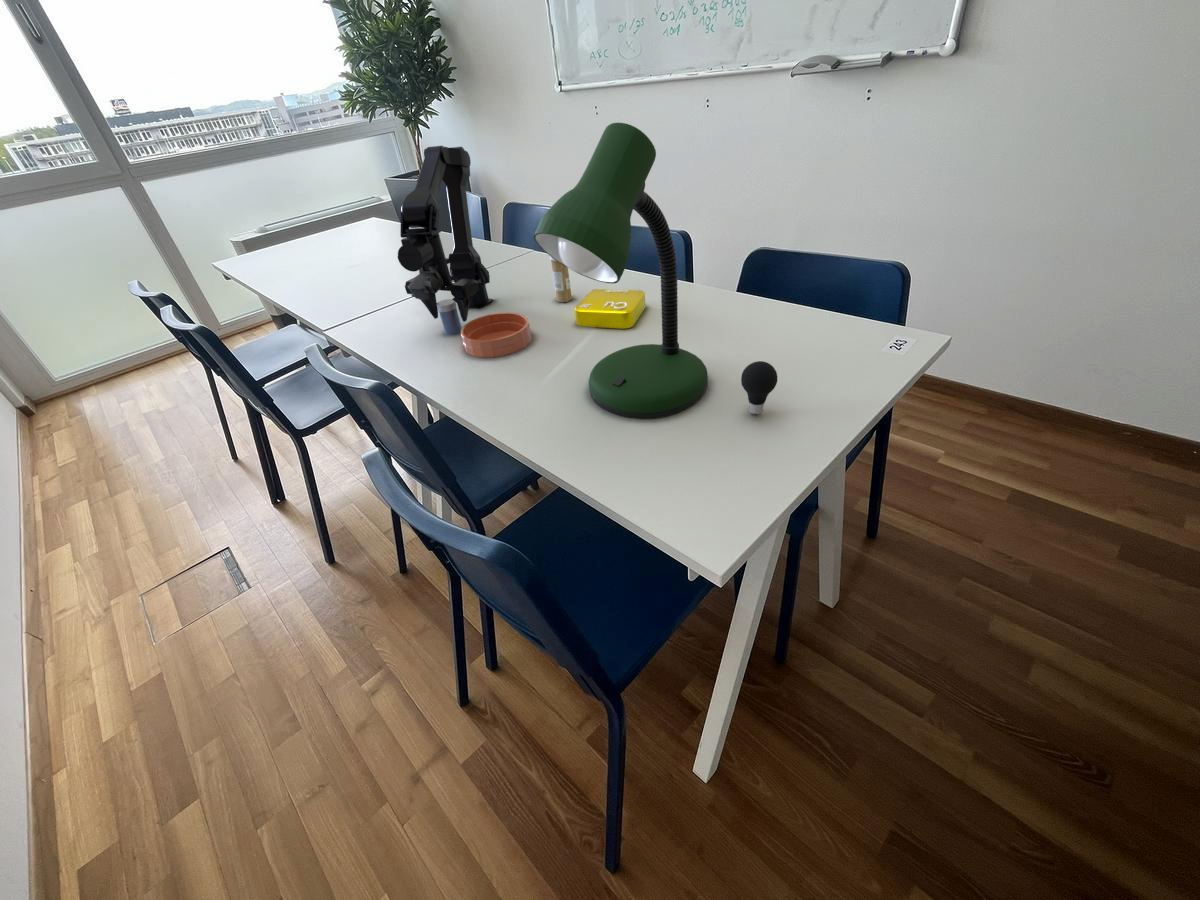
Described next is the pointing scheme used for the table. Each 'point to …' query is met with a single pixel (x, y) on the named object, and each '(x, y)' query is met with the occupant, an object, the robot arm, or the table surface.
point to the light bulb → (758, 384)
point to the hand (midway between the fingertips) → (450, 319)
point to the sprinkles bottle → (561, 281)
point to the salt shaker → (449, 316)
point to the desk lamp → (600, 252)
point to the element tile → (610, 308)
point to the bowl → (496, 335)
